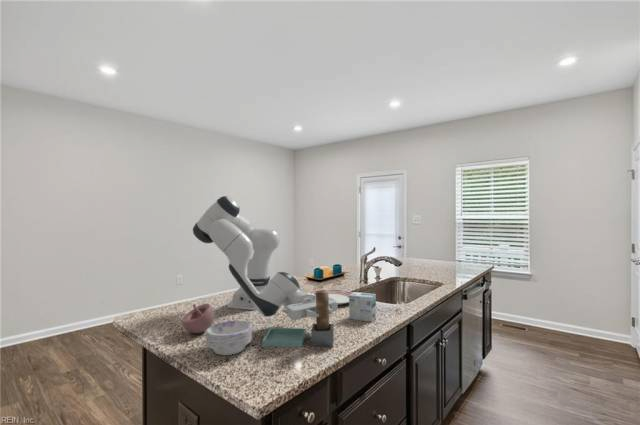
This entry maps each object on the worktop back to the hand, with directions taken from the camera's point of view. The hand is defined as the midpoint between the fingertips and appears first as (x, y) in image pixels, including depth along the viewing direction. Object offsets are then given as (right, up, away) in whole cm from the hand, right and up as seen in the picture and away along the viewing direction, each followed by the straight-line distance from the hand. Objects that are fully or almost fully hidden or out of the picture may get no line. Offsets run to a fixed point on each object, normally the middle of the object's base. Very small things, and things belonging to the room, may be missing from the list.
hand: (324, 313), depth 112 cm
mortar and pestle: (-50, -12, +13) cm, 53 cm away
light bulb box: (+18, -11, +28) cm, 35 cm away
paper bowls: (-33, -12, -3) cm, 35 cm away
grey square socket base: (0, -11, +1) cm, 11 cm away
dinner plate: (+5, -11, +56) cm, 58 cm away
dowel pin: (0, -10, +1) cm, 10 cm away
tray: (-14, -11, +4) cm, 18 cm away
